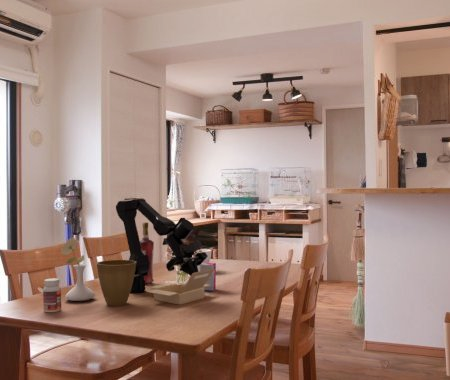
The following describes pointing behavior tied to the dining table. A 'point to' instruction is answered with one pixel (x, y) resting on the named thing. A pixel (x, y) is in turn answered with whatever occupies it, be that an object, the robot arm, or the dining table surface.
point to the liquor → (147, 252)
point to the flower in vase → (79, 290)
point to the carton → (176, 293)
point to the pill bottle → (52, 295)
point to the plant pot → (116, 280)
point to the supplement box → (212, 278)
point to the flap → (197, 280)
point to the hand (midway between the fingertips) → (198, 278)
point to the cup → (206, 258)
